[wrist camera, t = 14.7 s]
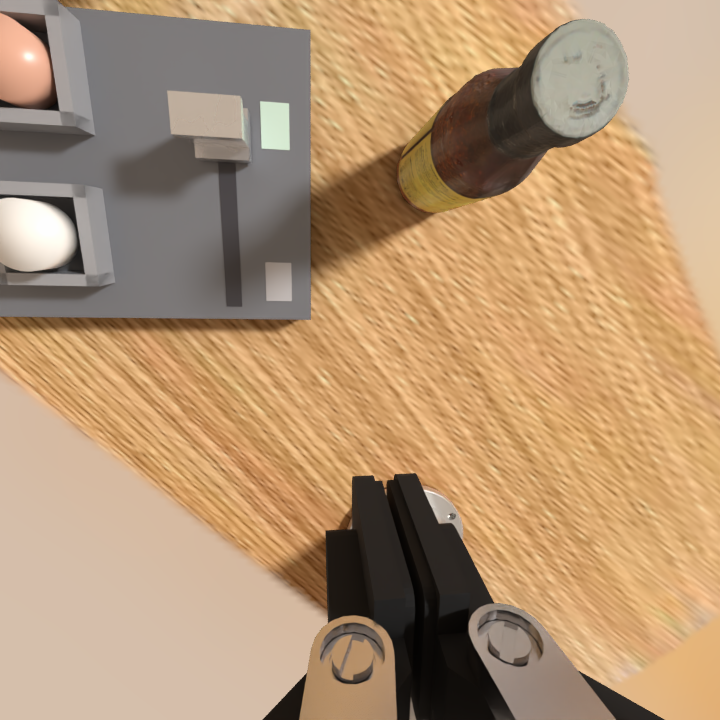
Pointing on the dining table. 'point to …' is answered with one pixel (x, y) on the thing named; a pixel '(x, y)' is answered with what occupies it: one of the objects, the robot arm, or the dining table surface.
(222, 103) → the slider knob
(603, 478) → the dining table surface
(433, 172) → the sauce bottle
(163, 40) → the control panel
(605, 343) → the dining table surface
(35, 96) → the terracotta button
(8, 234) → the offwhite button
